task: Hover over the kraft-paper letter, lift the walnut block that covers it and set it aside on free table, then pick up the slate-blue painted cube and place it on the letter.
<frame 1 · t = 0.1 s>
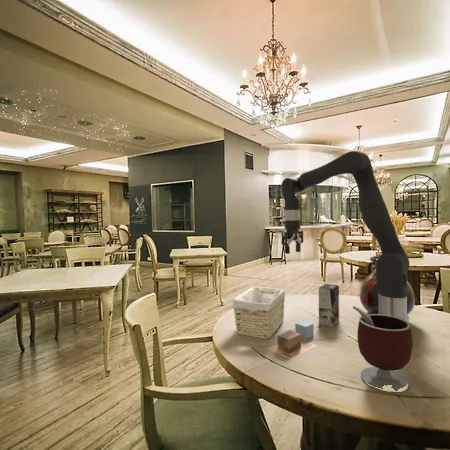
hand: (292, 252, 145), 29 cm above the table, tool pointing down, fingers open, 8 cm apart
letter: (292, 347, 108), on the table
storage basket: (260, 328, 128), on the table
slate cube: (304, 335, 118), on the table
coffee box: (329, 322, 132), on the table
walnut block: (289, 348, 107), resting on letter
amphora vase: (386, 320, 132), on the table
mate gourd: (380, 379, 86), on the table
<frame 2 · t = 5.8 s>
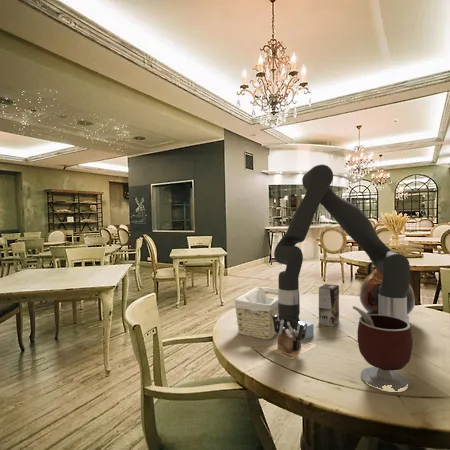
hand: (289, 347, 107), 0 cm above the table, tool pointing down, fingers closed on walnut block, 5 cm apart
storage basket: (263, 328, 127), on the table
walnut block: (289, 348, 107), resting on letter, touching gripper
everything else where it was.
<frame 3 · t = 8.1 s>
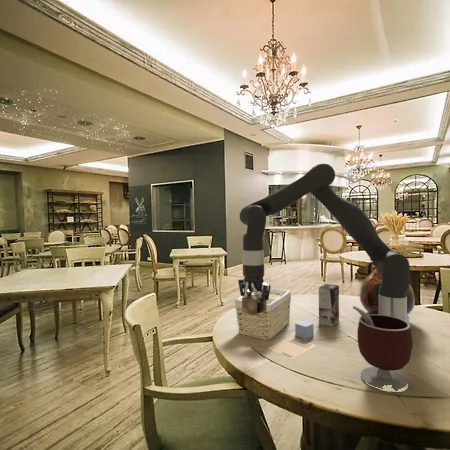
hand: (254, 310, 105), 15 cm above the table, tool pointing down, fingers closed on walnut block, 5 cm apart
walnut block: (254, 311, 105), point 14 cm above the table, touching gripper
when the fingers open (2 cm above the table, at t = 10.8 s): walnut block drops 2 cm, on the table.
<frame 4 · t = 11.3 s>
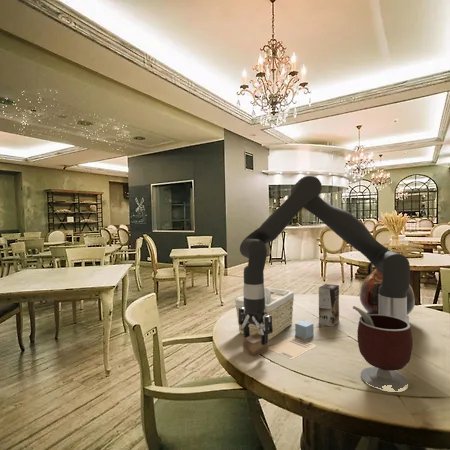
hand: (255, 340, 105), 4 cm above the table, tool pointing down, fingers open, 8 cm apart
walnut block: (255, 351, 105), on the table
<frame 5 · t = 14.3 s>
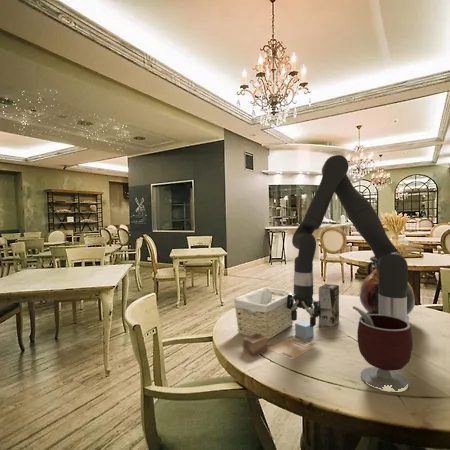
hand: (303, 323, 119), 5 cm above the table, tool pointing down, fingers open, 8 cm apart
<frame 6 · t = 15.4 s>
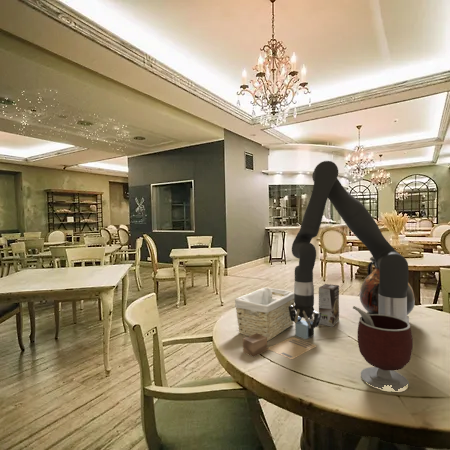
hand: (304, 334, 118), 0 cm above the table, tool pointing down, fingers closed on slate cube, 5 cm apart
slate cube: (304, 335, 118), on the table, touching gripper
when the fingers open (2 cm above the table, at t = 20.2 s): slate cube drops 1 cm, resting on letter.
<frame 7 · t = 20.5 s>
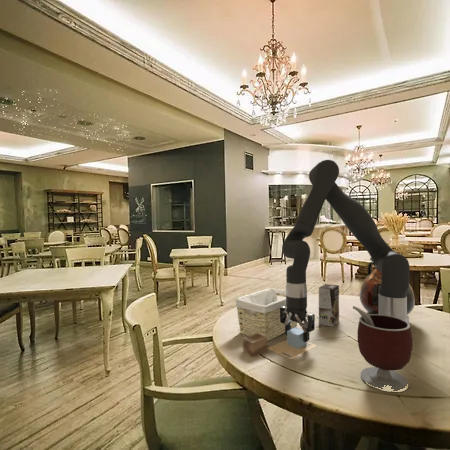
hand: (296, 338, 110), 2 cm above the table, tool pointing down, fingers open, 7 cm apart
storage basket: (268, 330, 125), on the table
slate cube: (297, 344, 110), resting on letter
everything else where it was.
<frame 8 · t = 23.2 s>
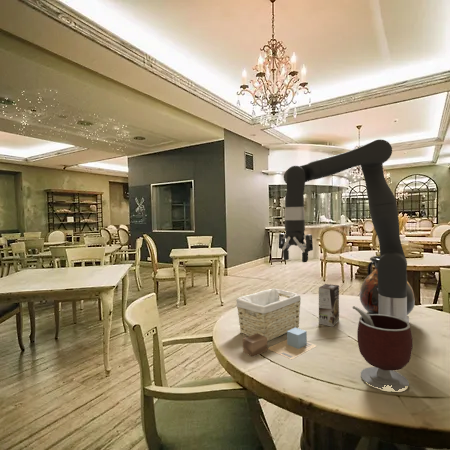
hand: (295, 260, 115), 30 cm above the table, tool pointing down, fingers open, 8 cm apart
at the end: slate cube inside the target area on the letter (3.0 cm from its centre), point 0.2 cm above the letter's base; walnut block inside the target area (0.8 cm from its centre), on the table; the gripper is holding nothing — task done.
